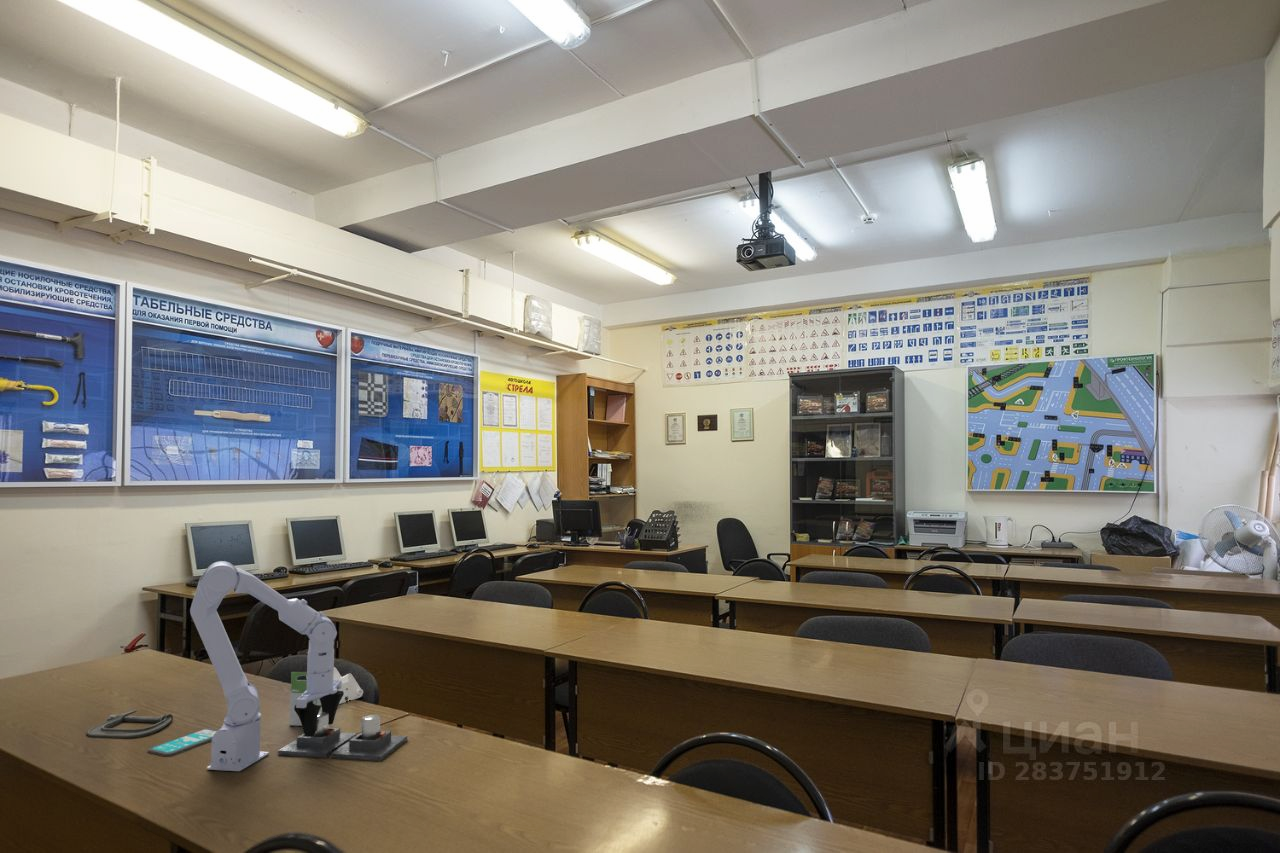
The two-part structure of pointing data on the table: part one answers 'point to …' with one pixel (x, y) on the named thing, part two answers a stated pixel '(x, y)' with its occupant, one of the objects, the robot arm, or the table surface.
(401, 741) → the stand
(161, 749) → the smartphone
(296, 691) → the ink box
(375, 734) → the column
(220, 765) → the robot arm
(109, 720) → the c clamp
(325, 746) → the stand
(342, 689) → the mounting bracket
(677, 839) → the table surface
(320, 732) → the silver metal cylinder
